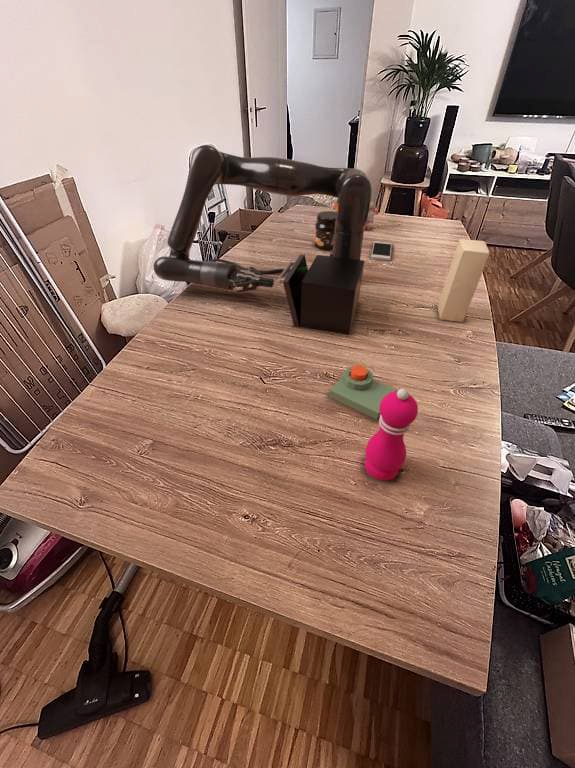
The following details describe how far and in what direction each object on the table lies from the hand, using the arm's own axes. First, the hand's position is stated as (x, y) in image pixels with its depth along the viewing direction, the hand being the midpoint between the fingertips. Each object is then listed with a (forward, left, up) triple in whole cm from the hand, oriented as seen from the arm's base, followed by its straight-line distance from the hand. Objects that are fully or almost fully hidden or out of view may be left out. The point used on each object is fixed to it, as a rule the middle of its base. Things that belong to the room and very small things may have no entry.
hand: (273, 283), depth 110 cm
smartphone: (+9, +58, -8) cm, 59 cm away
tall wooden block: (+46, +28, -8) cm, 54 cm away
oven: (+17, +6, -8) cm, 19 cm away
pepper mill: (+53, -35, -8) cm, 64 cm away
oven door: (+8, +3, -8) cm, 11 cm away
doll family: (-13, +73, -8) cm, 75 cm away
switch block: (+41, -20, -8) cm, 46 cm away
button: (+38, -18, -4) cm, 42 cm away
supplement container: (-11, +50, -8) cm, 52 cm away
